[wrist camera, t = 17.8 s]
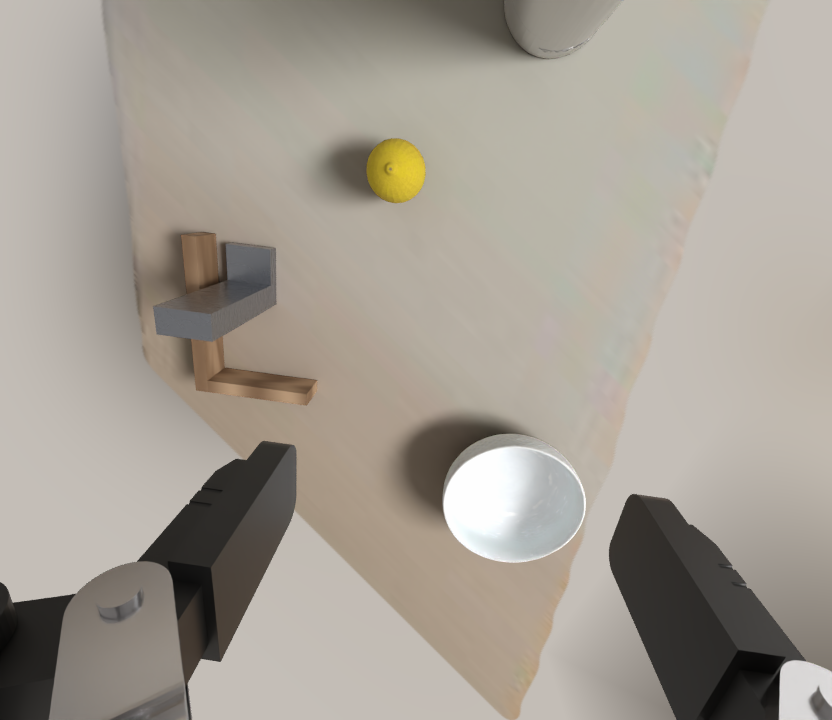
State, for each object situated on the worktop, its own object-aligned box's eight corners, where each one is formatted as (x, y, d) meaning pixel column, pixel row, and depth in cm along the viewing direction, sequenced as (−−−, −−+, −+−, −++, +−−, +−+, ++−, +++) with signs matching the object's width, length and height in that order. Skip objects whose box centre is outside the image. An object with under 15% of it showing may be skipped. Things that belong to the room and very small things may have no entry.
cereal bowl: (591, 493, 55) (610, 533, 48) (481, 538, 59) (485, 580, 52) (534, 394, 50) (546, 423, 44) (419, 450, 54) (415, 484, 48)
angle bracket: (275, 248, 46) (207, 266, 33) (276, 304, 49) (212, 341, 36) (232, 242, 46) (147, 258, 33) (235, 298, 49) (156, 334, 36)
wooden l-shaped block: (320, 246, 46) (308, 250, 42) (316, 391, 52) (306, 405, 49) (202, 232, 46) (180, 234, 42) (214, 376, 53) (196, 390, 49)
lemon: (364, 182, 43) (346, 178, 35) (393, 132, 41) (380, 117, 34) (408, 213, 44) (399, 216, 36) (438, 166, 42) (435, 158, 34)
